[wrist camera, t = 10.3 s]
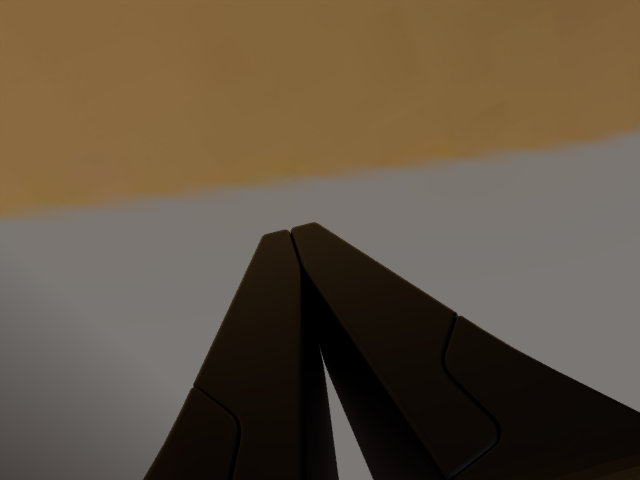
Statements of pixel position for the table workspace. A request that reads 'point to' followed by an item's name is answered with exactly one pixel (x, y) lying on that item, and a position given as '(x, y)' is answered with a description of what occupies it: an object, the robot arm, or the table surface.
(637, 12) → the table surface
